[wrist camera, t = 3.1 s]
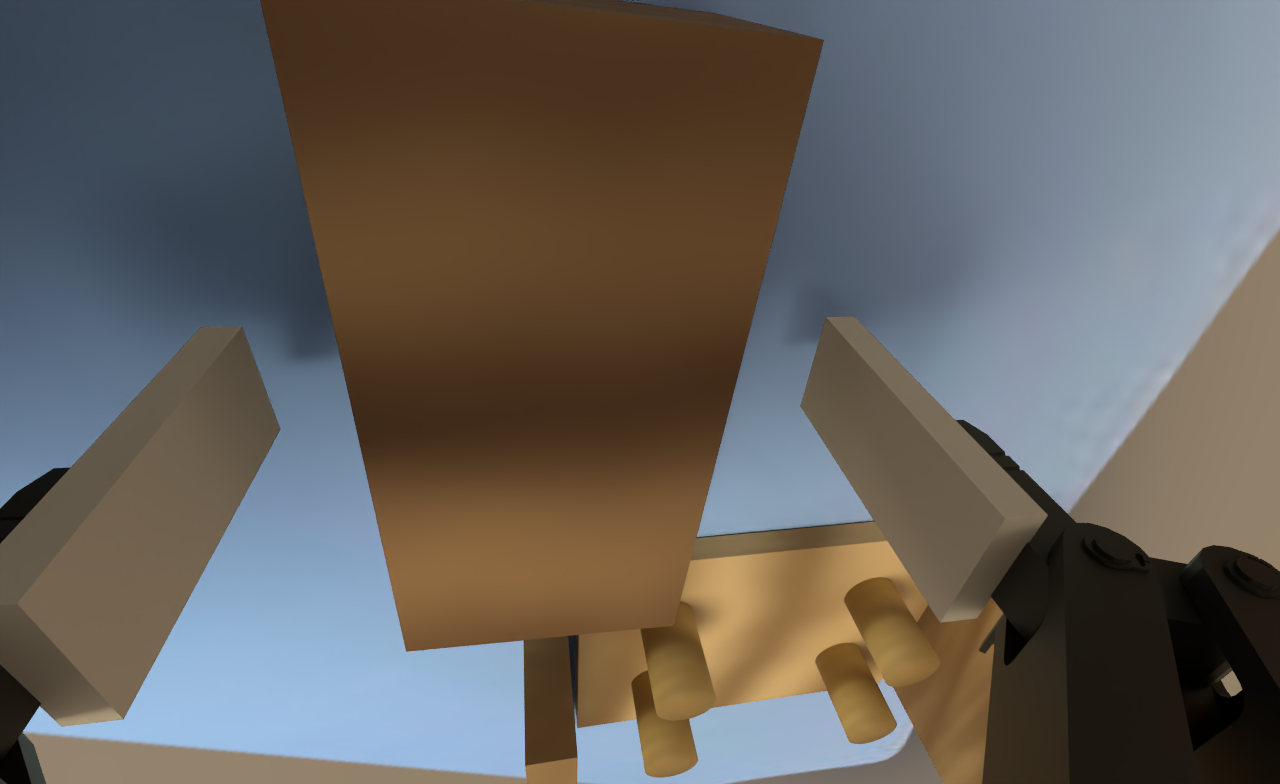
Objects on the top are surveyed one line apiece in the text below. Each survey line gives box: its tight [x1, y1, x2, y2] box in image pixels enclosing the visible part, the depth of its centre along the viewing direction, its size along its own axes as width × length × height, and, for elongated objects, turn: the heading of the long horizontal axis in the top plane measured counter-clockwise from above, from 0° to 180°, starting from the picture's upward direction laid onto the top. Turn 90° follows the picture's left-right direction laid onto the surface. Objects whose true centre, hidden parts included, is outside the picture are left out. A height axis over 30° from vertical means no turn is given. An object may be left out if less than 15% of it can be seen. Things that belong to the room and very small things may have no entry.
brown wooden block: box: [260, 0, 824, 651], centre depth 13 cm, size 14×7×6 cm, turn 174°
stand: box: [524, 522, 1003, 784], centre depth 24 cm, size 20×12×7 cm, turn 86°
